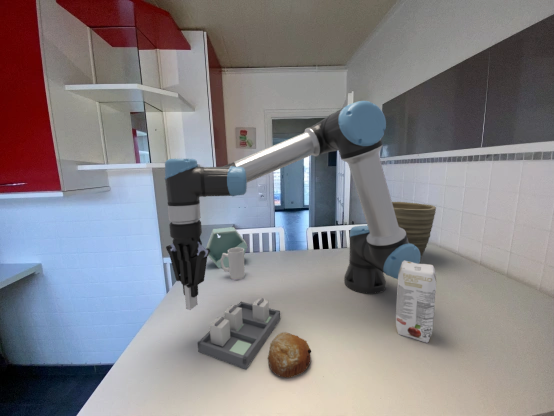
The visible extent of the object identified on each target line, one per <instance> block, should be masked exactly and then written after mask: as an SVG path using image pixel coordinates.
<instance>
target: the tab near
mask: <svg viewBox="0 0 554 416" xmlns="http://www.w3.org/2000/svg"><path fill="white" fill-rule="evenodd" d="M209 331H210V337H211V343H213V344H216V345H219V346H222V347H223V346H224V344H225V343H226V342H227V341H228V340H229V339H230V324H229V320H226V319H224V316H221V317H219V316H218V317H216V319H214V320H213V321H212V322H211V323H210V324H209Z"/></svg>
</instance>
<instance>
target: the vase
mask: <svg viewBox="0 0 554 416" xmlns="http://www.w3.org/2000/svg"><path fill="white" fill-rule="evenodd" d="M392 204H393V208H394V212H395V215H396V219H397V222H398V226H399V227H400V228H403V229H404V230H405V231H406V235H407V238H408V242H409V243H410V244H414V245H415V246H416V247H417V248H418V249H419V251H420V255H421V258H420V260H422V257H423V254H424V252H425V251H426V249H427V245H428V243H429V241H430V237H431V232H432V228H433V223H434V221H435V216H436V212H437V211H436V209H437V206H435V205H432V204H425V203H417V202H407V201H392ZM419 264H421V262H420V263H419Z"/></svg>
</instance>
